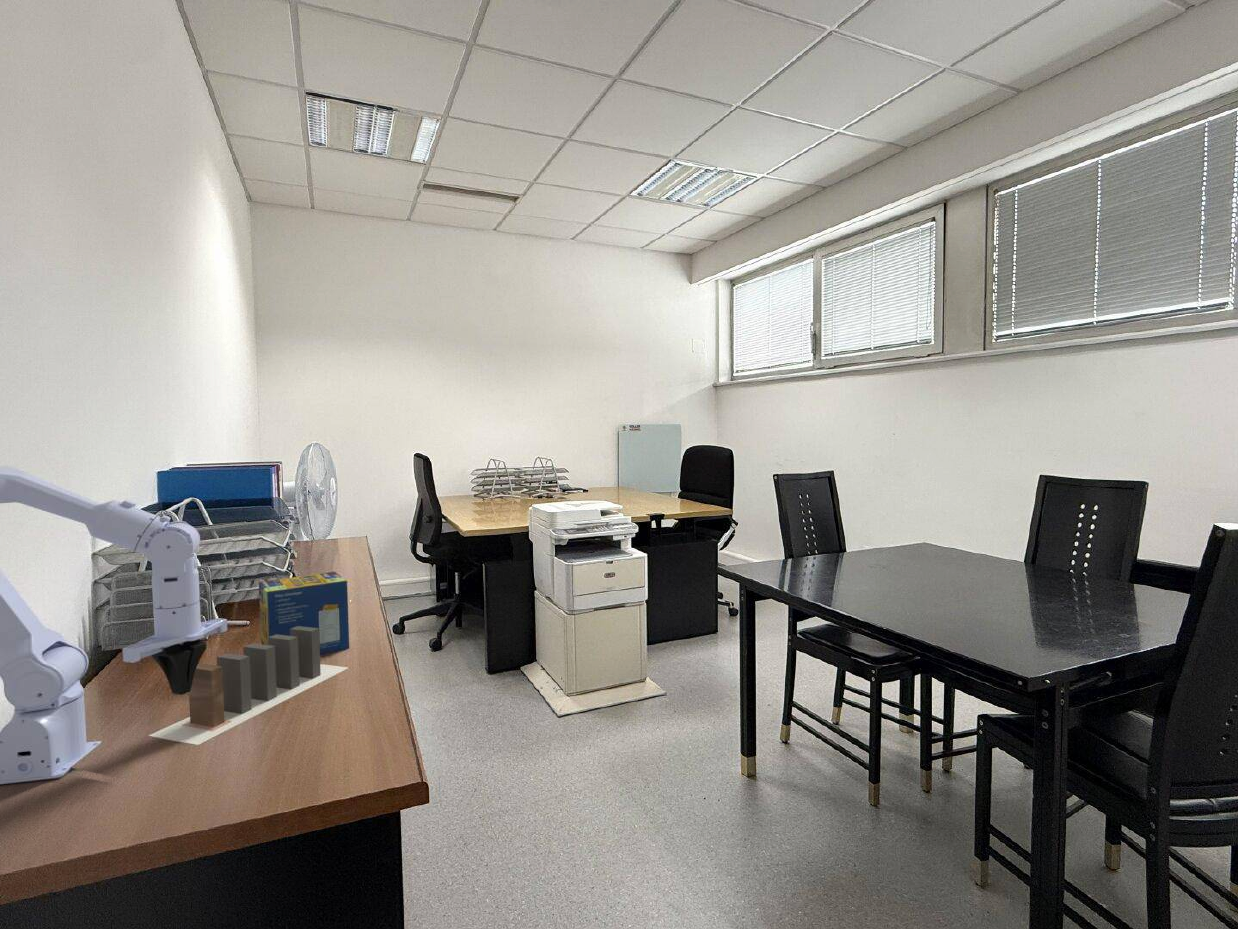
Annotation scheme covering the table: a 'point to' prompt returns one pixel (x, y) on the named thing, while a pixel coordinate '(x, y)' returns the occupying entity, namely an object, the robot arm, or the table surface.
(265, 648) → the domino
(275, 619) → the protein box
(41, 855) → the table surface
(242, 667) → the domino
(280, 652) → the domino
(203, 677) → the domino
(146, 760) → the table surface
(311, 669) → the domino
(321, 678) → the board
